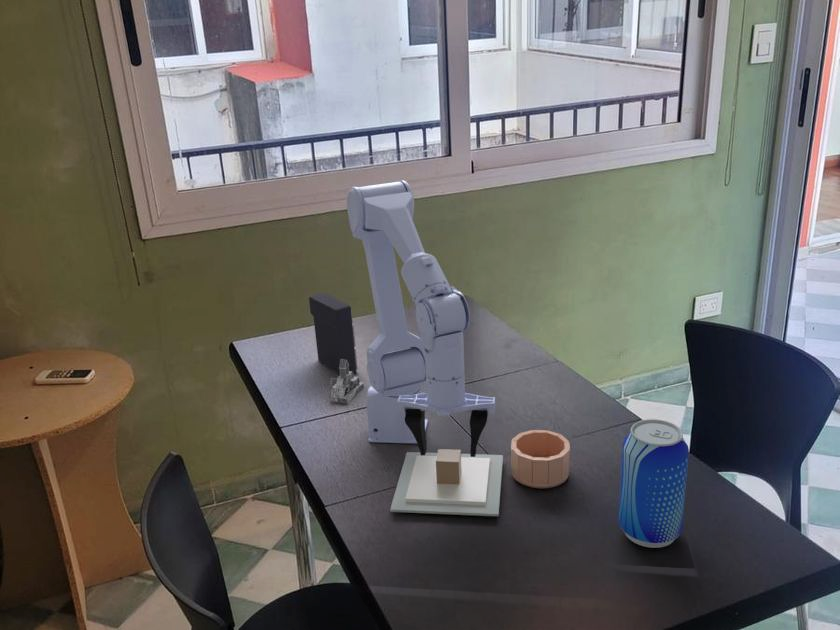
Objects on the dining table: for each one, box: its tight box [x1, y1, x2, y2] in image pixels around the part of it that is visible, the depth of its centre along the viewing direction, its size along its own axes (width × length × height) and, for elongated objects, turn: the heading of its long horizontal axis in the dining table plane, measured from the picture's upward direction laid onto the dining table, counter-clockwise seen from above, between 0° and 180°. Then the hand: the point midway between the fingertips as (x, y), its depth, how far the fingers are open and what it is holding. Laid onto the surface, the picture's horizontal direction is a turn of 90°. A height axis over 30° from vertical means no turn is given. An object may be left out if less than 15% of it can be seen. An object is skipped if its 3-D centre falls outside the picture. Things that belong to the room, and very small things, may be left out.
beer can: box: [618, 418, 690, 549], centre depth 105 cm, size 8×8×16 cm
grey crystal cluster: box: [329, 359, 365, 405], centre depth 152 cm, size 9×9×8 cm
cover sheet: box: [405, 448, 490, 505], centre depth 120 cm, size 12×12×5 cm
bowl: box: [510, 429, 571, 489], centre depth 122 cm, size 9×9×5 cm
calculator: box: [308, 292, 358, 375], centre depth 161 cm, size 11×4×15 cm, turn 37°
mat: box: [389, 451, 504, 517], centre depth 121 cm, size 16×16×1 cm
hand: (448, 452), depth 119 cm, fingers open, 7 cm apart
